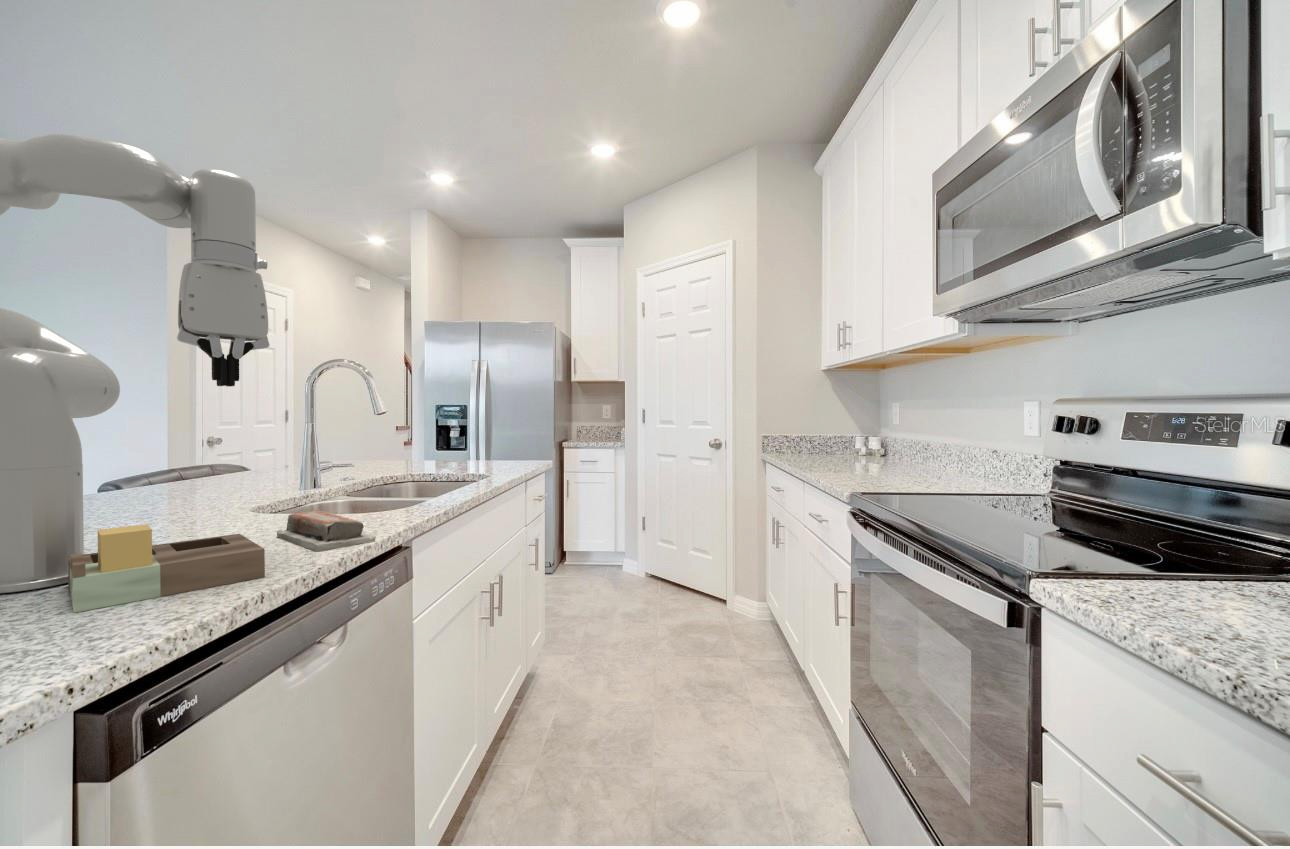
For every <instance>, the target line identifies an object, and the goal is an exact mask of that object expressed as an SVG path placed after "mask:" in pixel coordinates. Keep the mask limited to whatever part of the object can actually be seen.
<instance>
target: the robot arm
mask: <svg viewBox="0 0 1290 849" xmlns="http://www.w3.org/2000/svg"><path fill="white" fill-rule="evenodd" d="M61 194H63V195H65V194H67V195H75V196H76V195H77V196H84V197H92V198H98V199H99V198H100V199H105V200H112V201H116V202H119V203H122V204H124V205H125V206H126V207H127V206H128V207H130V208H131V209H133V210H135V211H137V212H138V213H140V214H141V215H143V216H145V217H146V218H148V219H150V220H152V221H153V222H155V223H157V224H159V225H162V226H164V227H168V228H173V229H190V256H191V258H190V259H191V260H190V261H191V262H189V263H188V262H187V263H186V264H184V265H183V268H182V272H181V276H180V283H179V289H178V290H179V292H178V305H177V307H178V308H177V328H178V330H179V331H178V334H177V336H176V339H177V341H178V342H180V343H184V344H188V345H191V346H194V347H195V346H196V347H198V348H199V349H200V350H201V351H203V353H204V354H206V355H208V357H209V358H210V359H211V380H212V381H216V386H217V387H231V388H232V387H235V385H236V382H240V359H242V358H243V357H244V356H245V355H246V354H248V353H250V352H251V351H256V350H262V349H267V348H269V347H270V341H269V339H268V334H269V315H268V314H269V313H268V305H267V304H268V303H267V298H266V297H267V296H266V291H265V285H264V281H263V277H262V274H260V273H259V272H257V271H258V270H261V269H263V270H267V268H268V261H267V260H265V259H262V258H260V257H259V255H258V253H257V243H256V241H257V240H256V239H257V237H256V236H257V235H256V234H257V233H256V231H257V230H256V224H257V222H256V213H257V212H256V211H257V210H256V191H255V188H254V185H252V183H251V182H250V181H248V180H247V179H246V178H244V177H242V176H240V175H238V174H235V173H233V172H230V171H226V170H225V171H224V170H221V169H220V170H219V169H214V168H213V169H212V168H202V169H198V170H196V171H194V172H193V173H192V175H191V176H190V178H188V177H186V176H184V175H182V174H180V173H178V172H176V171H175V170H174V169H172V168H171V167H170V166H168V165H167V164H166V163H165V162H163V161H162V160H160V159H159V158H158V157H156V156H155V155H153V154H152V153H150V152H148V151H146V150H144V149H142V148H139V147H136V146H134V145H129V144H126V143H122V142H117V141H114V140H113V141H112V140H106V139H101V138H100V139H99V138H94V137H89V136H88V137H87V136H81V135H76V134H75V135H74V134H73V135H72V134H64V133H58V134H57V133H56V134H55V133H53V134H47V135H46V134H45V135H42V136H37V137H31V138H29V139H27V140H15V139H9V138H3V137H0V216H2V215H3V214H5V213H6V212H7V211H8V210H9V209H10V208H11V207H14V208H16V207H17V208H23V209H27V210H28V209H29V210H30V209H31V210H47V209H49V208H51V207H53V206H55V204H56V203H57V202H58V201H59V199H60V195H61ZM221 340H229V341H230V344H229V350H228V353H227V355H226V357H225V354H224V353H223V348H222V344H221ZM120 393H121V386H120V382H119V380H118V377H117V375H116V374H115V373H114V371H113V370H112V369H111V368H110V367H109V366H108V364H106V363H105V362H103V361H102V360H101V359H99V358H98V357H96V356H95V355H93V354H92V353H90V352H88V351H86V350H85V349H83V348H82V347H80V346H78V345H77V344H75V343H74V342H72V341H70V340H69V339H67V338H66V337H64V336H62V335H60V333H57V332H56V331H54V330H52V329H51V328H49V327H48V326H46V325H44V324H43V323H41V322H40V321H39V322H38V321H37V320H35V319H33V318H31V317H29V316H27V315H24V314H22V313H18V312H15V311H12V310H10V309H6V308H1V307H0V594H7V593H8V594H9V593H16V592H17V593H18V592H24V591H30V590H37V589H45V588H48V587H49V588H50V587H54V586H58V585H64V584H68V556H70V555H71V554H79V553H82V555H84V554H85V551H84V550H85V541H84V540H85V538H84V530H85V528H84V526H85V525H84V476H83V475H84V469H83V468H84V467H83V465H84V464H83V448H82V447H83V446H82V442H81V438H80V435H79V431H78V430H77V427H76V425H75V422H74V420H73V419H83V418H90V417H94V416H98V415H100V414H103V413H104V412H107V411H108V410H110V409H111V408H112V407H113V406H114V405H115V404H117V401H118V399H119V397H120Z"/></svg>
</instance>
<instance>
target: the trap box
mask: <svg viewBox="0 0 1290 849" xmlns="http://www.w3.org/2000/svg"><path fill="white" fill-rule="evenodd" d="M265 551H266V550H265V547H262V546H261V545H259V544H258V543H256V542H254V541H253V540H251V539H249V538H248V537H245V536H244V535H243V534H241V533H235V534H226V535H219V536H214V537H212V536H211V537H204V538H197V539H189V540H183V541H175V542H167V543H160V544H152V565H150V566H143V567H137V568H130V569H124V570H117V571H111V572H104V573H101V571H100V569H99V567H98V552H92V553H86V554H85V553H84V555H82V553H79V554H71V555H70V556H68V583H67V584H68V591H69V596H70V602H71V607H72V613H74V614H75V613H80V612H81V613H82V612H85V611H90V610H96V609H102V608H107V607H113V606H118V605H124V604H128V603H135V602H139V601H145V600H150V599H154V598H160V597H161V598H162V597H166V596H172V595H176V594H182V593H188V592H193V591H197V590H204V589H208V588H214V587H218V586H225V585H229V584H236V583H240V582H241V583H242V582H247V581H250V580H256V579H261V578H265V576H266V575H265V574H266V573H265V570H266V569H265V568H266V567H265V565H266V562H265V560H266V559H265V558H266V557H265Z"/></svg>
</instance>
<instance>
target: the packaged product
mask: <svg viewBox="0 0 1290 849" xmlns="http://www.w3.org/2000/svg"><path fill="white" fill-rule="evenodd" d="M363 529H364V524H363V523H362V522H361V521H359V520H357V519H352V518H349V517H346V516H341V515H339V514H335V513H331V512H327V511H323V510H309V511H303V512H296V513H291V514H288V518H287V524H286V529H285V530H282V529H279V530H277V531H276V537H277V538H279V539H281V540H284V541H287V542H288V543H290V544H293V545H296V546H298V547H301V548H304V549H307V550H310V551H313V552H317V553H318V552H325V551H329V550H337V549H340V548H346V547H351V546H356V545H361V544H369V543H373V542H375V541H376V536H374V535H371V534H366V533H363V531H364V530H363Z"/></svg>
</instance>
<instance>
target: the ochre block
mask: <svg viewBox="0 0 1290 849" xmlns="http://www.w3.org/2000/svg"><path fill="white" fill-rule="evenodd" d="M152 545H153V529H152V528H151V527H150V526H149V525H148V524H137V525H130V526H119V527H112V528H102V529H97V553H98V567H99V569H100V571H101V573H104V572H111V571H117V570H124V569H130V568H137V567H143V566H150V565H152Z"/></svg>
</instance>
